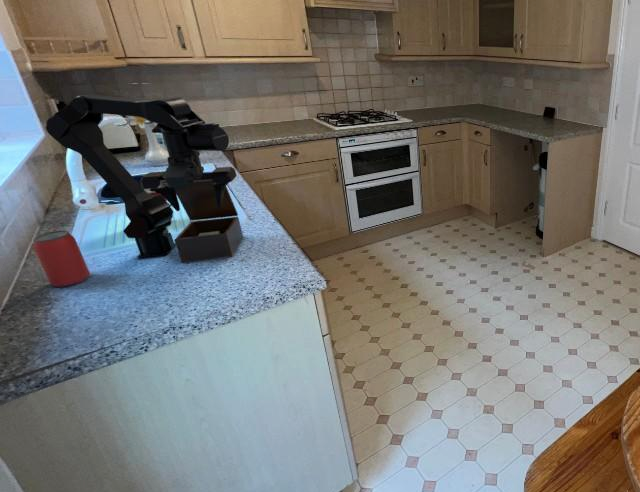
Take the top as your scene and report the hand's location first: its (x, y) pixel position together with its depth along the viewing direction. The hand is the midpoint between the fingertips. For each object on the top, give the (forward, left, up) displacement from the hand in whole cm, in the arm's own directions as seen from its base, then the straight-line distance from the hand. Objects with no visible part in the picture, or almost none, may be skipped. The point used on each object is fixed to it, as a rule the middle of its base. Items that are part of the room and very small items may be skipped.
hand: (199, 208), depth 105 cm
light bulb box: (-50, +130, -13) cm, 140 cm away
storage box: (0, +2, -13) cm, 13 cm away
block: (0, 0, -12) cm, 12 cm away
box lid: (0, +6, 0) cm, 6 cm away
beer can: (-27, -6, -13) cm, 31 cm away
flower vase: (-48, +108, -13) cm, 119 cm away
